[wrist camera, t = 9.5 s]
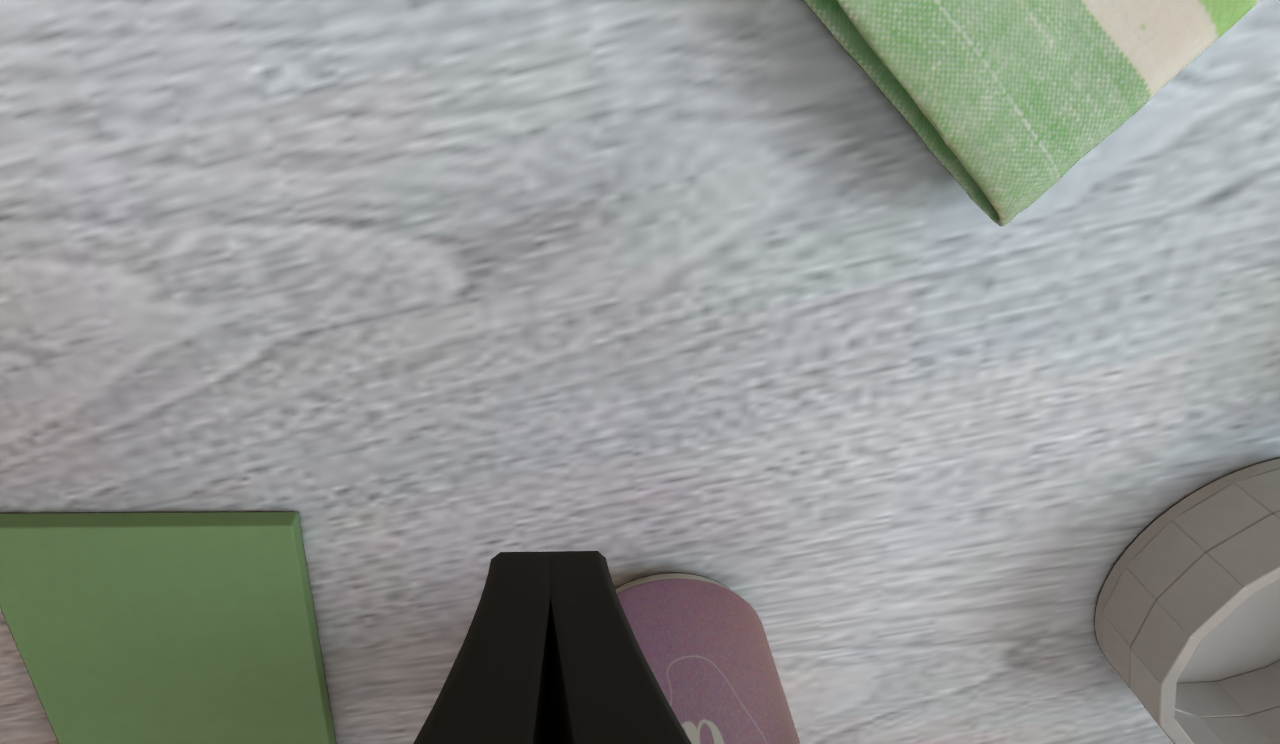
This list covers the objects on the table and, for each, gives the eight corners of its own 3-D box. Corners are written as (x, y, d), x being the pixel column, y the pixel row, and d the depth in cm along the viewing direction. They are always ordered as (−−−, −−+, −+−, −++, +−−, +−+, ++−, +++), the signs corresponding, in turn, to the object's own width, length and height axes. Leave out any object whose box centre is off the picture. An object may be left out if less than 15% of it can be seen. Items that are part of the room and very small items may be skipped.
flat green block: (85, 767, 24) (75, 785, 23) (-21, 512, 19) (-36, 528, 19) (338, 755, 25) (334, 772, 24) (298, 511, 20) (291, 526, 20)
